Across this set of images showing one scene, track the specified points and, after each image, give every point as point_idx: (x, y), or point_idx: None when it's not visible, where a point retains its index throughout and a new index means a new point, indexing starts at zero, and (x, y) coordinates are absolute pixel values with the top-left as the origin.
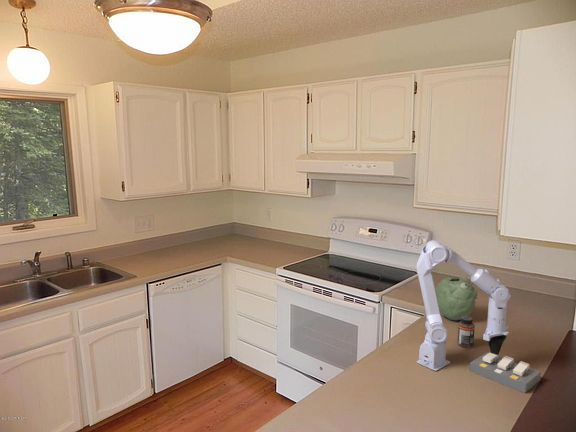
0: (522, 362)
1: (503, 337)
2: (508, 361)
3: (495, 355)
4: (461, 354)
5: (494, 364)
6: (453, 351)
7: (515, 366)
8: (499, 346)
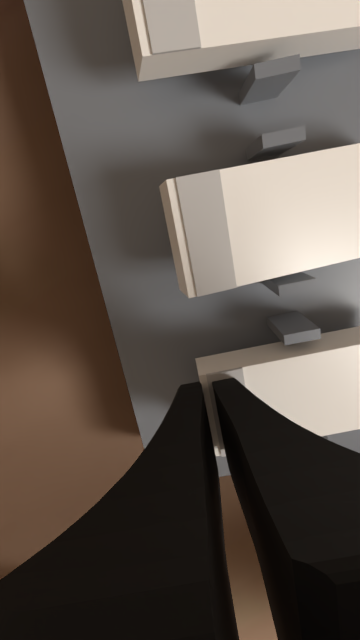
0: (159, 7)
1: (216, 636)
2: (280, 184)
3: (257, 377)
4: (236, 554)
5: (321, 305)
6: (244, 595)
7: (290, 60)
8: (242, 435)
